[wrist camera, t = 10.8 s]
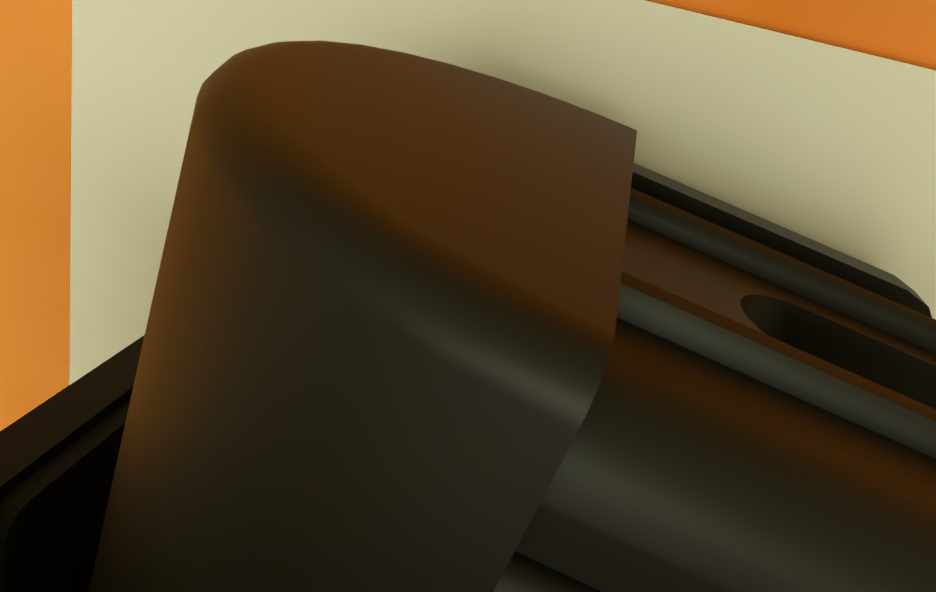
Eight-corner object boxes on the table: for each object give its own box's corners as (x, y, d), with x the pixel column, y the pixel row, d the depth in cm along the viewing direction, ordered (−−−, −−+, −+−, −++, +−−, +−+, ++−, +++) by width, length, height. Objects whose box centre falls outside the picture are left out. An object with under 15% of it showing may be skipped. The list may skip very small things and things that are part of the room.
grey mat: (1300, 158, 9) (1342, 169, 9) (875, 791, 14) (884, 823, 14) (101, -131, 11) (73, -138, 11) (88, 516, 16) (68, 535, 15)
